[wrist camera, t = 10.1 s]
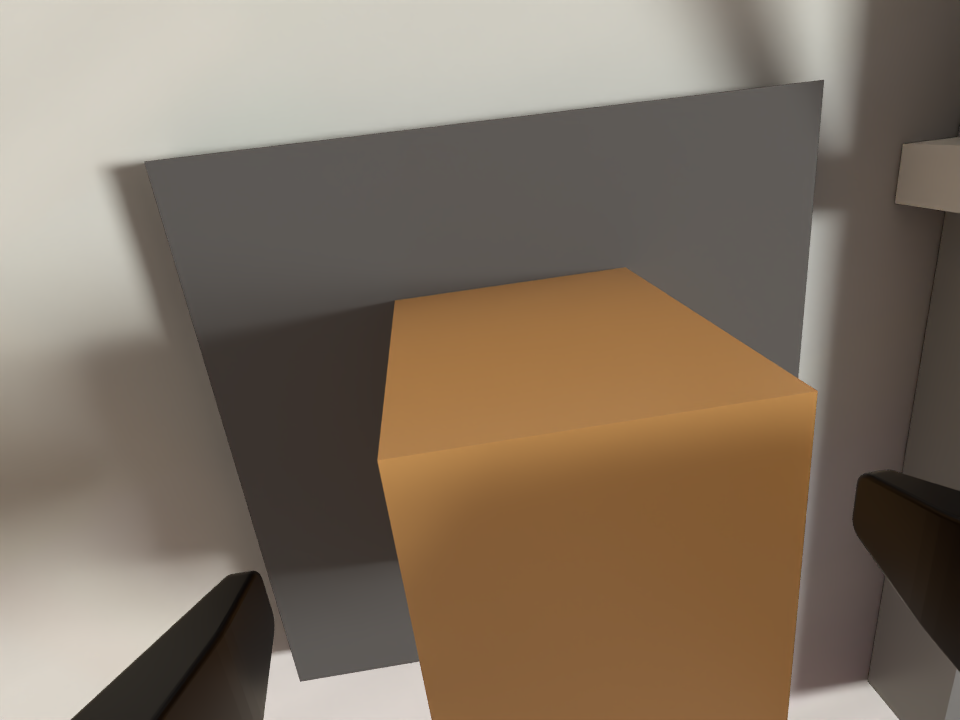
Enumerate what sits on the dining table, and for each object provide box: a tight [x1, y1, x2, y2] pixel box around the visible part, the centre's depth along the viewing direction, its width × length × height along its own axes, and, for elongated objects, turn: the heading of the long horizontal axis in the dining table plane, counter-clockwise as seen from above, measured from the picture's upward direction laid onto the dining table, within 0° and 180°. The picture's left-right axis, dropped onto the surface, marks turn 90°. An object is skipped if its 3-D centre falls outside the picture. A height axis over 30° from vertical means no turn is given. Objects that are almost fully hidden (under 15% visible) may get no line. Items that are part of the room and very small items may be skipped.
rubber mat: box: [145, 80, 824, 682], centre depth 13 cm, size 12×12×1 cm
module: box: [377, 267, 818, 720], centre depth 10 cm, size 6×4×6 cm
